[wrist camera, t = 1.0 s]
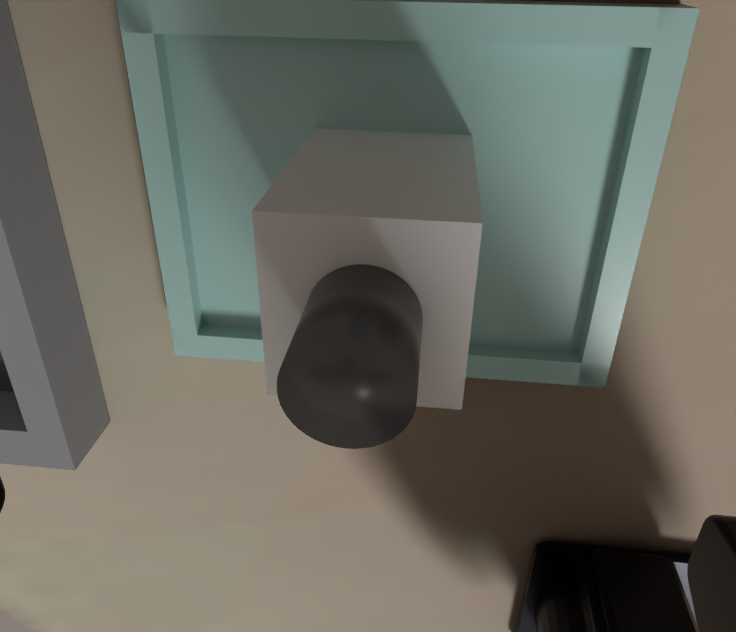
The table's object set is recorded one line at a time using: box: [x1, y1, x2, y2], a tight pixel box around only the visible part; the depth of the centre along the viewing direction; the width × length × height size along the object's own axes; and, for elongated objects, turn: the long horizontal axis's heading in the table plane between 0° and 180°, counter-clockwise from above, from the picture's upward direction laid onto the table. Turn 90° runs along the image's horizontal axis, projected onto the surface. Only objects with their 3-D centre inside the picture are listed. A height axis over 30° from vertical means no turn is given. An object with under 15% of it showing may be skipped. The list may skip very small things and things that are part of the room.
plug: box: [252, 128, 483, 449], centre depth 13 cm, size 4×4×8 cm
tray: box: [116, 0, 700, 388], centre depth 17 cm, size 13×10×1 cm
